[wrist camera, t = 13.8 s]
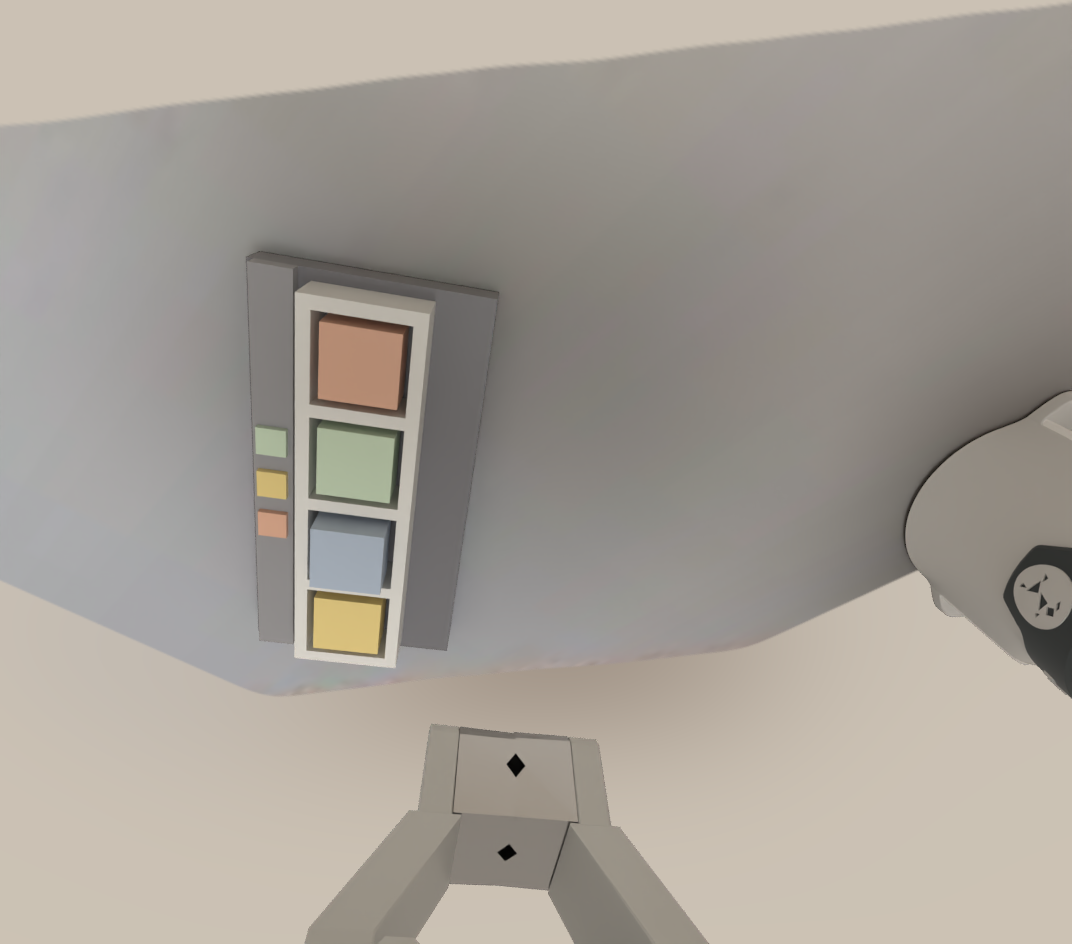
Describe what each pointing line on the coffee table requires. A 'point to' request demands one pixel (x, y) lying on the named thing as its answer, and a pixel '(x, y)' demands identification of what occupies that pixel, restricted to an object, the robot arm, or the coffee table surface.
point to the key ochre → (348, 622)
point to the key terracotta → (362, 361)
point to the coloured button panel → (422, 417)
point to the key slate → (349, 552)
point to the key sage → (356, 461)
